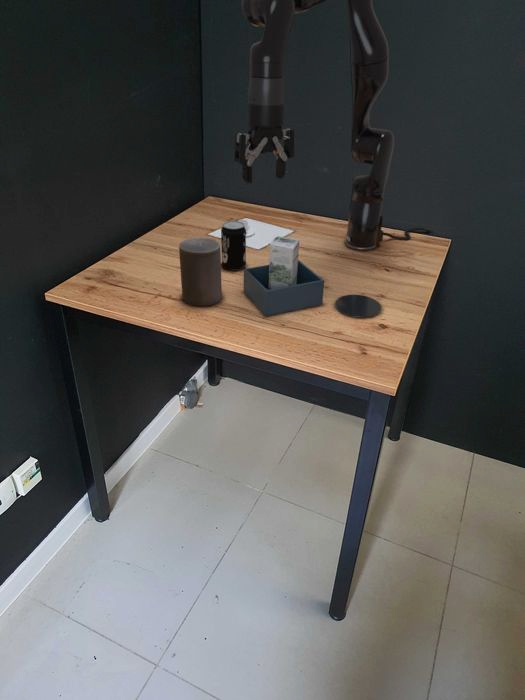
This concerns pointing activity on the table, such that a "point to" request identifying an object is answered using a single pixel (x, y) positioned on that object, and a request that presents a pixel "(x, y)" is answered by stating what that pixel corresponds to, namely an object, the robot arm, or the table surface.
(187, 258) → the pillar candle
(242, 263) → the beverage can
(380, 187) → the robot arm
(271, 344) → the table surface
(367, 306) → the coaster
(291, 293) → the bin
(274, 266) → the syrup box
